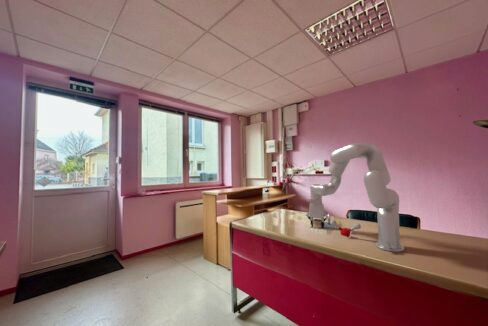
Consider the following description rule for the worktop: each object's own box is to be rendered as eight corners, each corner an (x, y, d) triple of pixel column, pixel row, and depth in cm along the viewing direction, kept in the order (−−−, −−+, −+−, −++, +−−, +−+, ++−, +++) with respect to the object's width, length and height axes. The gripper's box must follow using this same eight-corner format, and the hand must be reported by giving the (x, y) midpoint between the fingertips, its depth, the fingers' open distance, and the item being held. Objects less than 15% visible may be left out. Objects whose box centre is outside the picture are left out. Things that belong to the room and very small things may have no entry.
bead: (321, 228, 140) (320, 221, 141) (311, 227, 144) (311, 220, 144) (323, 226, 146) (322, 219, 146) (314, 225, 149) (313, 218, 149)
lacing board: (332, 232, 136) (332, 230, 136) (309, 229, 144) (309, 227, 144) (337, 225, 153) (336, 223, 153) (316, 222, 161) (316, 221, 161)
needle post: (330, 224, 149) (330, 213, 150) (327, 224, 151) (327, 213, 151) (331, 224, 151) (330, 213, 151) (328, 223, 152) (327, 213, 152)
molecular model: (329, 235, 130) (329, 220, 131) (332, 233, 135) (331, 218, 135) (360, 241, 119) (359, 224, 119) (362, 238, 123) (361, 222, 124)
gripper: (302, 201, 147) (303, 226, 146) (328, 203, 137) (329, 229, 137) (305, 200, 153) (306, 223, 153) (330, 201, 144) (331, 226, 143)
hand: (317, 226), depth 145 cm, fingers closed on bead, 6 cm apart
